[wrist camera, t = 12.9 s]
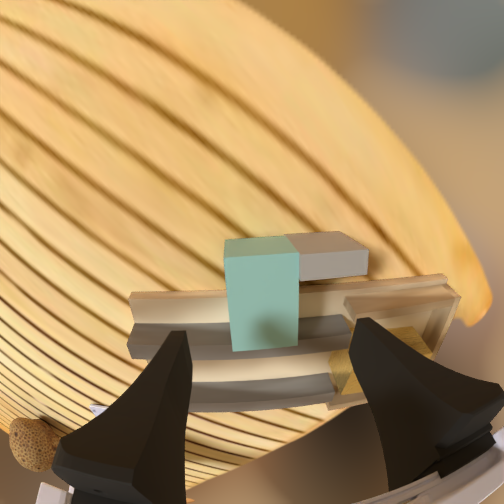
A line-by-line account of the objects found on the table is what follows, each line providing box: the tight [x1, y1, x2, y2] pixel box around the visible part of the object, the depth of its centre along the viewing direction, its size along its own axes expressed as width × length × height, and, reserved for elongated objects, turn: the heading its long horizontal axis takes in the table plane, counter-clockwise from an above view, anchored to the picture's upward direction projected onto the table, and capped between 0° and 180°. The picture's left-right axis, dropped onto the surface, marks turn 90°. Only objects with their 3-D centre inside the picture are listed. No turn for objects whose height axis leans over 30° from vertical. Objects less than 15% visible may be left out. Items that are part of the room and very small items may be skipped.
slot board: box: [127, 274, 461, 412], centre depth 22 cm, size 13×27×4 cm, turn 90°
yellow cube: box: [386, 326, 433, 359], centre depth 22 cm, size 4×4×4 cm
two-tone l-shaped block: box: [224, 231, 369, 352], centre depth 18 cm, size 5×8×6 cm
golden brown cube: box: [328, 328, 363, 395], centre depth 21 cm, size 4×4×4 cm
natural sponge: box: [10, 418, 60, 472], centre depth 25 cm, size 9×9×10 cm
